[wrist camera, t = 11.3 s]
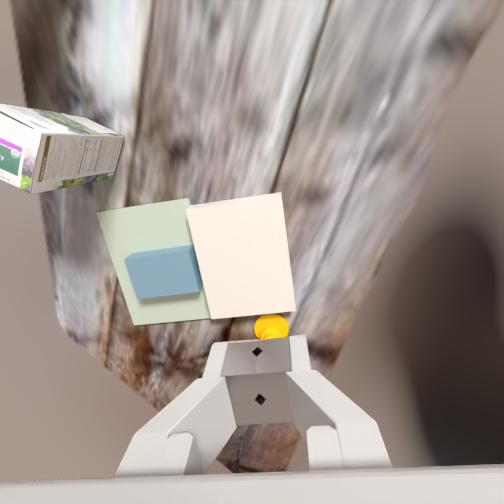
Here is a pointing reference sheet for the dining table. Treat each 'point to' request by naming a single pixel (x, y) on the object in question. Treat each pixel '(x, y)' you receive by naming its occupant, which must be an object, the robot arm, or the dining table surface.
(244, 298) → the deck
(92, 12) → the dining table surface
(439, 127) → the dining table surface
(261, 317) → the candle
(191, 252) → the tile
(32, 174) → the syrup box
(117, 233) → the mat
